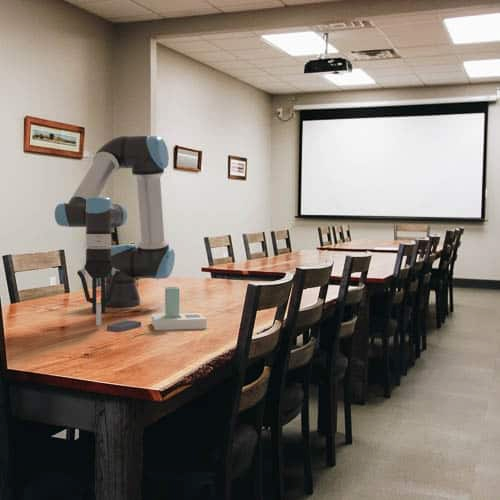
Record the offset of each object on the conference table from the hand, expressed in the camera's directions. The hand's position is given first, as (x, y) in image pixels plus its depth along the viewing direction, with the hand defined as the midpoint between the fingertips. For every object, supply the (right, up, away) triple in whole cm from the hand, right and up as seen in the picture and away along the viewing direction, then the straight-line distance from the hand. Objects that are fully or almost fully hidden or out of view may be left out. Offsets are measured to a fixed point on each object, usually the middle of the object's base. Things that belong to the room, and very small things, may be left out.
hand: (98, 324), depth 200 cm
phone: (+7, -2, +2) cm, 8 cm away
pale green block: (+22, -1, +6) cm, 23 cm away
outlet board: (+24, -1, +7) cm, 25 cm away
